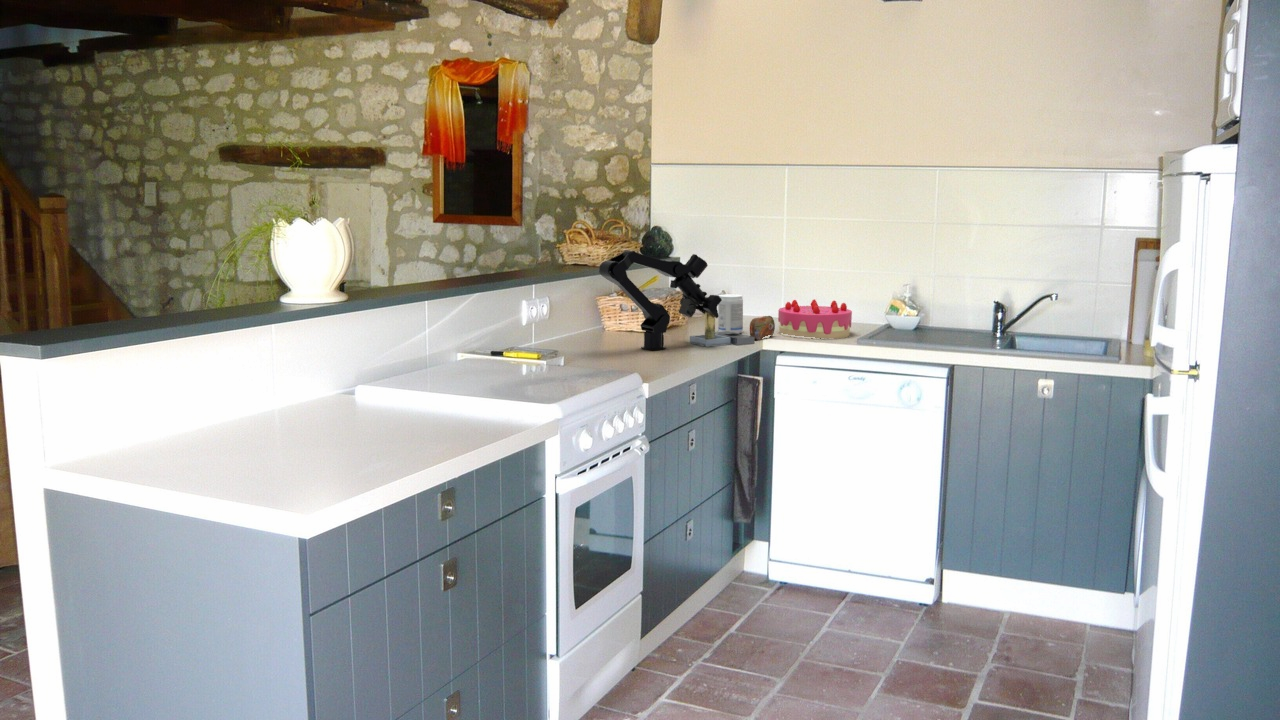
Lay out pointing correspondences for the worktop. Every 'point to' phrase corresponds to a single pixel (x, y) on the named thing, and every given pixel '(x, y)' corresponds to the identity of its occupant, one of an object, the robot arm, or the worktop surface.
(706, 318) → the pin
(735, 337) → the hitch plate
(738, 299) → the supplement tub
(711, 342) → the tray
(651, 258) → the robot arm
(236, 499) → the worktop surface
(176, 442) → the worktop surface
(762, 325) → the tin
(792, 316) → the cake
